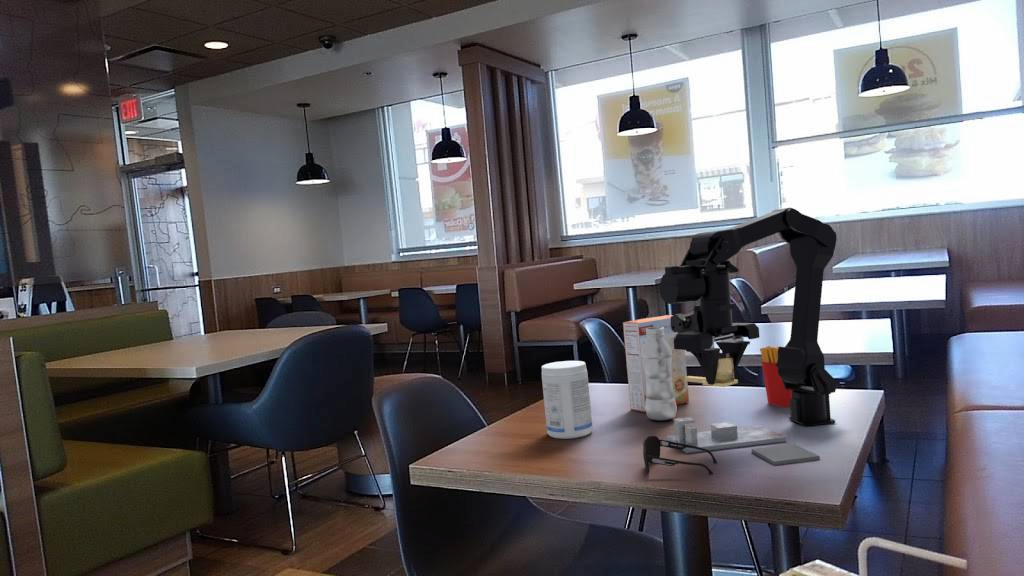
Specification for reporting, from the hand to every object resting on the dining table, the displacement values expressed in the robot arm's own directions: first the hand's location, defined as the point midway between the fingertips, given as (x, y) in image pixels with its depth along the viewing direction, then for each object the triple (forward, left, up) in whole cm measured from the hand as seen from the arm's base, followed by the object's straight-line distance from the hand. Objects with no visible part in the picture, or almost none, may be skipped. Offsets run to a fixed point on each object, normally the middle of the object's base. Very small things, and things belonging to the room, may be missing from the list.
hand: (720, 381), depth 133 cm
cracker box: (+1, -34, -11) cm, 36 cm away
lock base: (0, 0, -11) cm, 11 cm away
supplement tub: (+26, -18, -11) cm, 34 cm away
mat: (-5, +13, -11) cm, 18 cm away
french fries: (-24, -23, -11) cm, 35 cm away
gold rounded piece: (+1, -2, 0) cm, 2 cm away
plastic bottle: (+5, -21, -11) cm, 24 cm away
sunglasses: (+13, +12, -12) cm, 21 cm away
